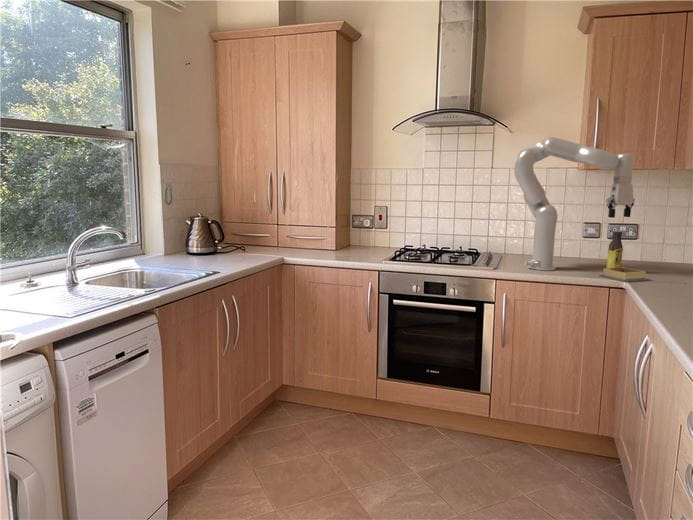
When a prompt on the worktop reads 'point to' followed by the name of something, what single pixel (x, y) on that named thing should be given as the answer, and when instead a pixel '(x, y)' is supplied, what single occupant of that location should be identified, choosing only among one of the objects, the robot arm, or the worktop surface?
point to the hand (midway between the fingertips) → (619, 217)
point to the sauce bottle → (615, 251)
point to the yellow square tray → (624, 274)
